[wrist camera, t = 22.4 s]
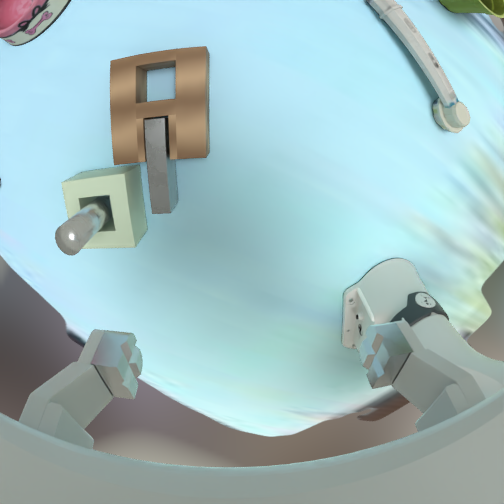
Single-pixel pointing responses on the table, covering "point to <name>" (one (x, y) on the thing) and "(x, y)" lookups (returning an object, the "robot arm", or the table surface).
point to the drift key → (160, 166)
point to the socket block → (160, 104)
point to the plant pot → (475, 6)
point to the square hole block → (122, 203)
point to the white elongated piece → (425, 66)
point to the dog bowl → (28, 18)
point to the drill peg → (83, 225)
